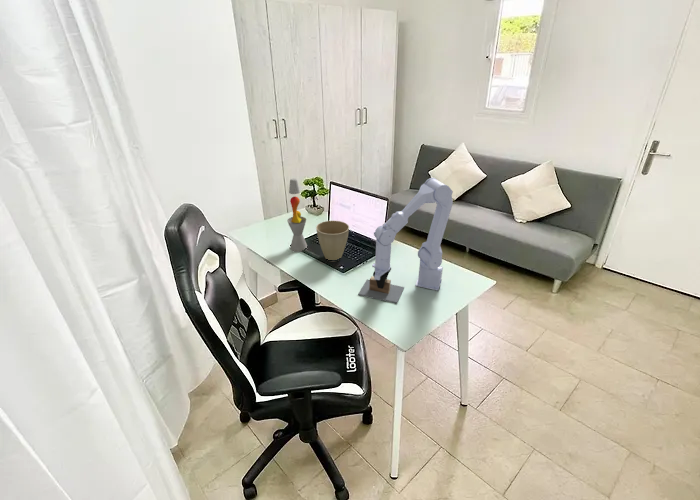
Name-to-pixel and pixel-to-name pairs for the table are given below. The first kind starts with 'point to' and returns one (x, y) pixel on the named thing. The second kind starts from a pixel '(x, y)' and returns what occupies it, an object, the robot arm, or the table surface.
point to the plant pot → (332, 238)
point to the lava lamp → (296, 220)
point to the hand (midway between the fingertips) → (381, 285)
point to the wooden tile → (374, 286)
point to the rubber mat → (391, 297)
